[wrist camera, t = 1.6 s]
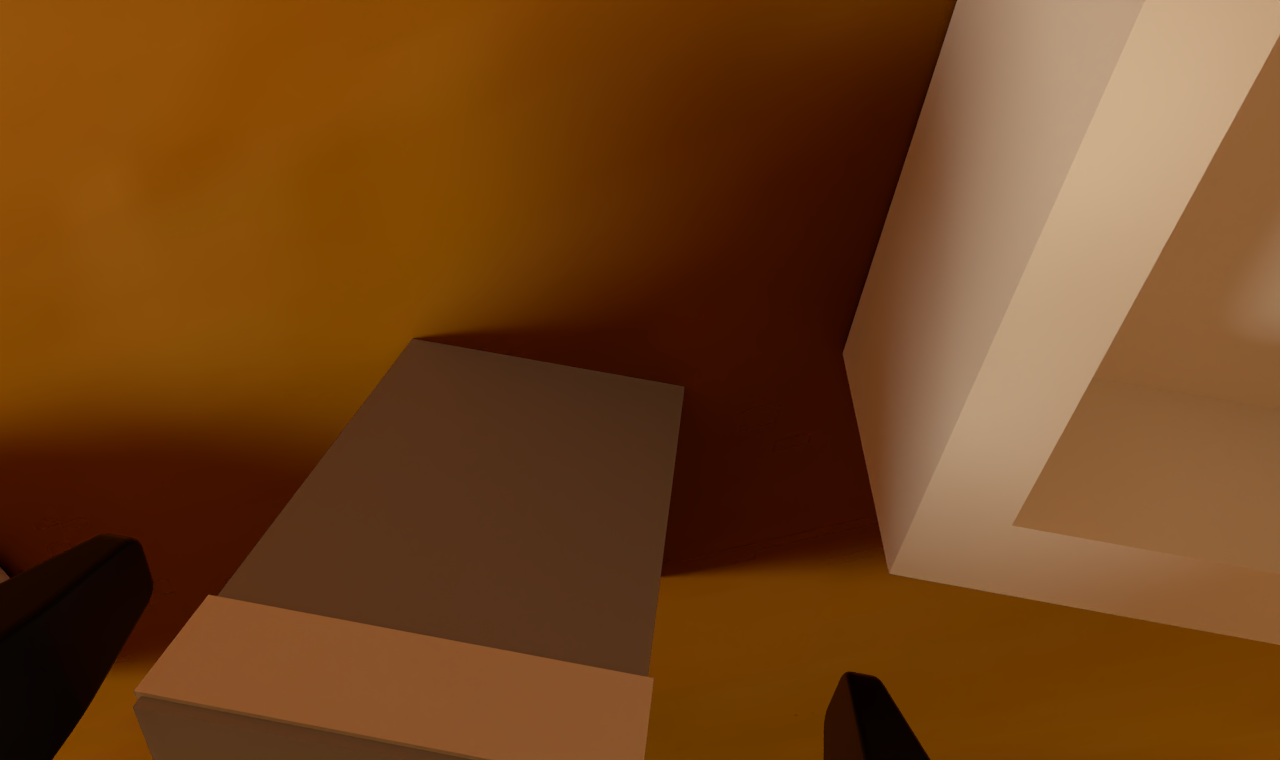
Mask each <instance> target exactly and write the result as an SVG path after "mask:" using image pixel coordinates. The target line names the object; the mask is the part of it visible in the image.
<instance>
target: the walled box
mask: <svg viewBox="0 0 1280 760" xmlns="http://www.w3.org/2000/svg"><path fill="white" fill-rule="evenodd" d="M843 358H844V363H845V367H846V372H847V377H848V382H849V386H850V391H851V396H852V401H853V405H854V410H855V415H856V419H857V424H858V429H859V434H860V438H861V443H862V448H863V453H864V457H865V462H866V467H867V472H868V476H869V481H870V486H871V491H872V495H873V500H874V505H875V509H876V514H877V519H878V524H879V528H880V533H881V538H882V543H883V547H884V552H885V557H886V562H887V566H888V571H889V574H894V575H899V576H905V577H910V578H916V579H921V580H927V581H932V582H938V583H943V584H949V585H954V586H960V587H965V588H971V589H976V590H982V591H987V592H992V593H998V594H1003V595H1009V596H1014V597H1020V598H1025V599H1031V600H1036V601H1042V602H1047V603H1053V604H1058V605H1064V606H1069V607H1075V608H1080V609H1086V610H1091V611H1097V612H1102V613H1108V614H1113V615H1119V616H1124V617H1130V618H1135V619H1141V620H1146V621H1152V622H1157V623H1163V624H1168V625H1174V626H1179V627H1185V628H1190V629H1196V630H1201V631H1206V632H1212V633H1217V634H1223V635H1228V636H1234V637H1239V638H1245V639H1250V640H1256V641H1261V642H1267V643H1272V644H1278V645H1280V0H957V2H956V5H955V8H954V12H953V15H952V18H951V21H950V24H949V27H948V30H947V33H946V36H945V39H944V42H943V45H942V48H941V52H940V55H939V58H938V61H937V64H936V67H935V70H934V73H933V76H932V79H931V82H930V85H929V88H928V92H927V95H926V98H925V101H924V104H923V107H922V110H921V113H920V116H919V119H918V122H917V125H916V129H915V132H914V135H913V138H912V141H911V144H910V147H909V150H908V153H907V156H906V159H905V162H904V165H903V169H902V172H901V175H900V178H899V181H898V184H897V187H896V190H895V193H894V196H893V199H892V202H891V205H890V209H889V212H888V215H887V218H886V221H885V224H884V227H883V230H882V233H881V236H880V239H879V242H878V246H877V249H876V252H875V255H874V258H873V261H872V264H871V267H870V270H869V273H868V276H867V279H866V282H865V286H864V289H863V292H862V295H861V298H860V301H859V304H858V307H857V310H856V313H855V316H854V319H853V322H852V326H851V329H850V332H849V335H848V338H847V341H846V344H845V347H844V350H843Z"/></svg>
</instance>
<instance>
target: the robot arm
mask: <svg viewBox="0 0 1280 760" xmlns="http://www.w3.org/2000/svg"><path fill="white" fill-rule="evenodd" d="M152 591H153V579H152V576H151V573H150V570H149V567H148V563H147V560H146V557H145V554H144V551H143V548H142V545H141V543H140V542H139V541H138V540H137V539H135V538H131V537H125V536H120V535H115V534H102V535H98V536H96V537H93V538H91V539H89V540H87V541H85V542H83V543H81V544H79V545H77V546H75V547H73V548H71V549H69V550H67V551H65V552H63V553H61V554H59V555H57V556H55V557H53V558H51V559H49V560H47V561H44V562H42V563H40V564H38V565H36V566H34V567H32V568H30V569H28V570H26V571H24V572H22V573H20V574H18V575H16V576H14V577H12V578H10V579H8V580H6V581H4V582H2V583H0V760H52V759H53V758H54V756H55V755H56V754H57V752H58V751H59V749H60V748H61V746H62V745H63V744H64V742H65V741H66V739H67V738H68V737H69V735H70V734H71V732H72V731H73V729H74V728H75V726H76V725H77V723H78V722H79V720H80V719H81V717H82V716H83V715H84V713H85V711H86V710H87V708H88V707H89V705H90V703H91V702H92V700H93V698H94V697H95V695H96V693H97V692H98V690H99V688H100V686H101V685H102V683H103V681H104V679H105V678H106V676H107V674H108V672H109V671H110V669H111V667H112V665H113V664H114V662H115V660H116V658H117V657H118V655H119V653H120V651H121V650H122V648H123V646H124V644H125V643H126V641H127V639H128V637H129V636H130V634H131V632H132V630H133V629H134V627H135V625H136V623H137V622H138V620H139V618H140V616H141V615H142V613H143V611H144V609H145V608H146V606H147V604H148V602H149V600H150V598H151V595H152ZM824 760H930V758H929V757H928V755H927V754H926V752H925V750H924V749H923V747H922V746H921V744H920V742H919V741H918V739H917V738H916V736H915V734H914V733H913V731H912V729H911V728H910V726H909V725H908V723H907V721H906V720H905V718H904V717H903V715H902V713H901V712H900V710H899V709H898V707H897V705H896V704H895V702H894V701H893V699H892V697H891V696H890V694H889V693H888V691H887V689H886V688H885V686H884V685H883V683H882V682H881V681H880V680H879V679H878V678H877V677H875V676H872V675H867V674H861V673H856V672H846V673H844V674H843V675H842V677H841V679H840V681H839V683H838V686H837V688H836V690H835V692H834V695H833V697H832V699H831V701H830V704H829V706H828V708H827V711H826V715H825V721H824Z"/></svg>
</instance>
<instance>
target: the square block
mask: <svg viewBox="0 0 1280 760" xmlns="http://www.w3.org/2000/svg"><path fill="white" fill-rule="evenodd" d="M684 388H685V386H679V385H673V384H668V383H662V382H656V381H651V380H645V379H639V378H634V377H628V376H622V375H617V374H611V373H605V372H600V371H594V370H588V369H583V368H577V367H571V366H566V365H560V364H554V363H549V362H543V361H537V360H532V359H526V358H520V357H515V356H509V355H503V354H498V353H492V352H486V351H481V350H475V349H469V348H464V347H458V346H452V345H447V344H441V343H435V342H430V341H424V340H418V339H412V340H411V341H410V343H409V344H408V345H407V347H406V348H405V349H404V351H403V352H402V353H401V355H400V356H399V357H398V359H397V360H396V361H395V363H394V364H393V365H392V366H391V368H390V369H389V370H388V372H387V373H386V374H385V376H384V377H383V378H382V380H381V381H380V382H379V384H378V385H377V386H376V388H375V389H374V390H373V392H372V393H371V394H370V395H369V397H368V398H367V399H366V401H365V402H364V403H363V405H362V406H361V407H360V409H359V410H358V411H357V413H356V414H355V415H354V417H353V418H352V419H351V420H350V422H349V423H348V424H347V426H346V427H345V428H344V430H343V431H342V432H341V434H340V435H339V436H338V438H337V439H336V440H335V442H334V443H333V444H332V446H331V447H330V448H329V449H328V451H327V452H326V453H325V455H324V456H323V457H322V459H321V460H320V461H319V463H318V464H317V465H316V467H315V468H314V469H313V471H312V472H311V473H310V474H309V476H308V477H307V478H306V480H305V481H304V482H303V484H302V485H301V486H300V488H299V489H298V490H297V492H296V493H295V494H294V496H293V497H292V498H291V499H290V501H289V502H288V503H287V505H286V506H285V507H284V509H283V510H282V511H281V513H280V514H279V515H278V517H277V518H276V519H275V521H274V522H273V523H272V525H271V526H270V527H269V528H268V530H267V531H266V532H265V534H264V535H263V536H262V538H261V539H260V540H259V542H258V543H257V544H256V546H255V547H254V548H253V550H252V551H251V552H250V553H249V555H248V556H247V557H246V559H245V560H244V561H243V563H242V564H241V565H240V567H239V568H238V569H237V571H236V572H235V573H234V575H233V576H232V577H231V578H230V580H229V581H228V582H227V584H226V585H225V586H224V588H223V589H222V590H221V592H220V593H219V594H218V596H213V595H208V596H207V597H206V598H205V600H204V601H203V602H202V604H201V605H200V606H199V607H198V609H197V610H196V611H195V613H194V614H193V615H192V616H191V618H190V619H189V620H188V622H187V623H186V624H185V625H184V627H183V628H182V629H181V631H180V632H179V633H178V635H177V636H176V637H175V638H174V640H173V641H172V642H171V644H170V645H169V646H168V647H167V649H166V650H165V651H164V653H163V654H162V655H161V656H160V658H159V659H158V660H157V662H156V663H155V664H154V666H153V667H152V668H151V669H150V671H149V672H148V673H147V675H146V676H145V677H144V678H143V680H142V681H141V682H140V684H139V685H138V686H137V688H136V689H135V690H134V693H135V695H136V698H137V702H136V704H135V705H134V706H133V709H134V711H135V714H136V716H137V719H138V722H139V724H140V727H141V729H142V732H143V735H144V737H145V740H146V742H147V745H148V747H149V750H150V753H151V755H152V758H153V760H644V755H645V747H646V739H647V730H648V722H649V714H650V705H651V697H652V688H653V680H654V678H650V677H648V672H649V664H650V656H651V649H652V641H653V633H654V625H655V617H656V609H657V601H658V593H659V585H660V578H661V570H662V562H663V554H664V546H665V538H666V530H667V522H668V515H669V507H670V499H671V491H672V483H673V475H674V467H675V459H676V451H677V444H678V436H679V428H680V420H681V412H682V404H683V396H684Z"/></svg>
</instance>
